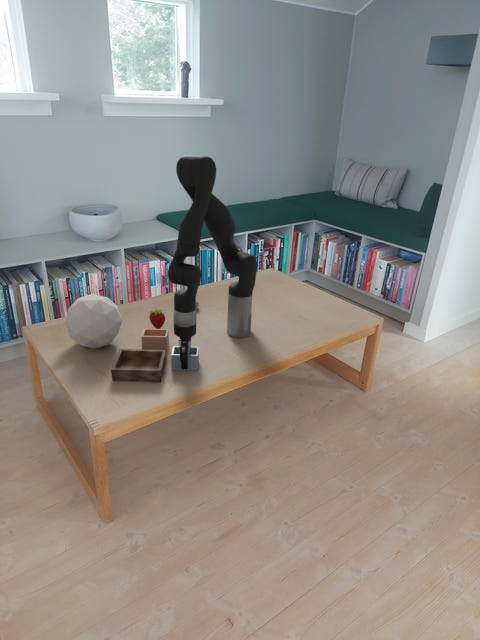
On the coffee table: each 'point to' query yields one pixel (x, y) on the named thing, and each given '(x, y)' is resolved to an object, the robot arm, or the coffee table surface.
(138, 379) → the walnut crate
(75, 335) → the geometric orb
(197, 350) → the blue-grey hollow box
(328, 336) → the coffee table surface
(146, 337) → the terracotta crate
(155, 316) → the strawberry
